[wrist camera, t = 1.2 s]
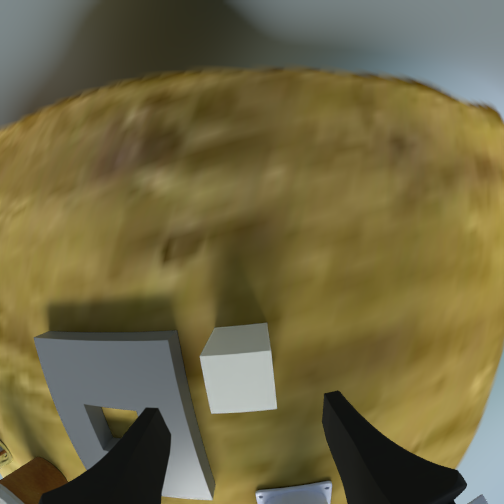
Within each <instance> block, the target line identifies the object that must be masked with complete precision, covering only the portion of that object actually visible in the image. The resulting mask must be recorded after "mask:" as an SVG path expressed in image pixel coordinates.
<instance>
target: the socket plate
mask: <svg viewBox="0 0 504 504" xmlns="http://www.w3.org/2000/svg"><path fill="white" fill-rule="evenodd" d="M34 341H35V345H36V349H37V353H38V356H39V360H40V363H41V366H42V370H43V373H44V376H45V379H46V382H47V385H48V388H49V390H50V393H51V396H52V398H53V401H54V404H55V406H56V409H57V411H58V413H59V416H60V418H61V420H62V423H63V425H64V427H65V429H66V432H67V434H68V436H69V438H70V440H71V442H72V444H73V446H74V448H75V450H76V452H77V454H78V455H79V457H80V459H81V461H82V463H83V465H84V466H85V468H86V470H88V469H90V468H91V467H92V466H94V465H95V464H96V463H97V462H98V461H99V460H101V459H102V458H103V457H104V456H105V455H106V454H107V453H108V452H109V451H110V450H111V449H112V448H113V447H114V446H115V444H116V443H117V442H118V441H119V440H120V438H114V437H113V436H112V434H111V432H110V429H109V427H108V424H107V422H106V419H105V417H104V414H103V411H102V409H101V407H107V408H115V409H123V410H134V411H136V412H137V414H138V417H139V415H140V414H141V413H142V412H143V410H144V409H145V408H146V407H149V408H159V410H160V412H161V415H162V417H163V419H164V421H165V423H166V425H167V427H168V429H169V431H170V433H171V448H170V456H169V461H168V466H167V470H166V475H165V480H164V485H163V489H162V496H166V497H175V498H185V499H198V500H213V496H214V490H215V481H214V478H213V475H212V472H211V469H210V466H209V463H208V459H207V456H206V453H205V449H204V446H203V442H202V439H201V435H200V431H199V428H198V424H197V420H196V416H195V412H194V408H193V404H192V400H191V396H190V391H189V387H188V382H187V378H186V373H185V369H184V364H183V359H182V354H181V349H180V343H179V338H178V332H177V330H175V331H153V332H56V331H48V332H46V333H43V334H41V335H39V336H36V337H34Z"/></svg>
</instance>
